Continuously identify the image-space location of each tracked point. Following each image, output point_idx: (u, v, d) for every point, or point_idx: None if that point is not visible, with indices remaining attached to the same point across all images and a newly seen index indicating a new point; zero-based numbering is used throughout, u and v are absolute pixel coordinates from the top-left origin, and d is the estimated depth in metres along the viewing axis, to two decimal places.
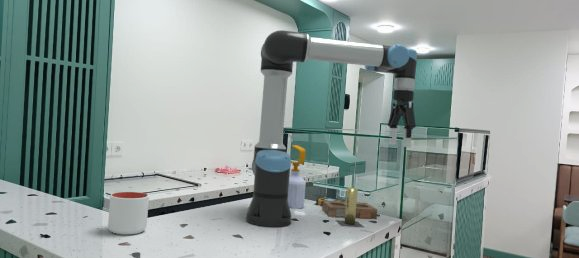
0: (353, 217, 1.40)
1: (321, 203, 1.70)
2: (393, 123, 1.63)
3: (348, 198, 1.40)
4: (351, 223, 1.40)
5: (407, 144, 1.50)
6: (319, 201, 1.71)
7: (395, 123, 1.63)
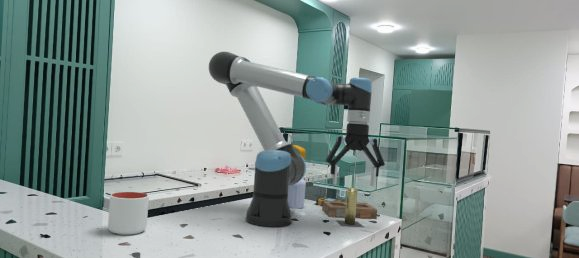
0: (353, 217, 1.40)
1: (321, 203, 1.70)
2: (371, 161, 1.43)
3: (348, 198, 1.40)
4: (351, 223, 1.40)
5: (333, 181, 1.40)
6: (319, 201, 1.71)
7: (372, 161, 1.42)
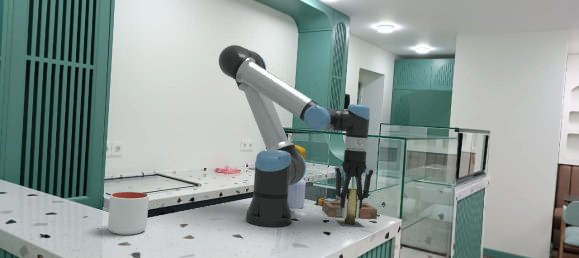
0: (353, 217, 1.40)
1: (321, 203, 1.70)
2: None
3: (348, 198, 1.40)
4: (351, 223, 1.40)
5: (343, 214, 1.41)
6: (319, 201, 1.71)
7: (358, 191, 1.41)
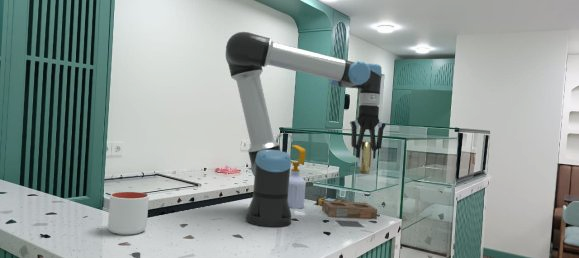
0: (367, 167, 1.55)
1: (322, 203, 1.70)
2: (371, 143, 1.57)
3: (363, 150, 1.55)
4: (366, 172, 1.54)
5: (358, 164, 1.56)
6: (319, 201, 1.71)
7: (371, 143, 1.56)
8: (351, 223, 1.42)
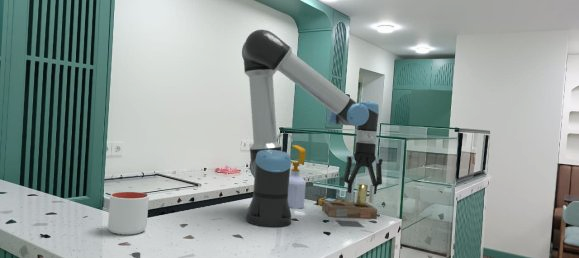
0: None
1: (322, 203, 1.70)
2: (371, 179, 1.58)
3: (359, 193, 1.56)
4: None
5: (350, 198, 1.57)
6: (320, 201, 1.71)
7: (372, 179, 1.58)
8: (351, 223, 1.42)
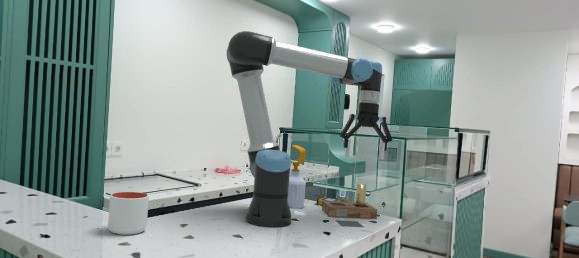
0: None
1: (322, 203, 1.70)
2: (380, 137, 1.59)
3: (358, 193, 1.56)
4: None
5: (346, 154, 1.56)
6: (320, 201, 1.71)
7: (381, 137, 1.58)
8: (351, 223, 1.42)
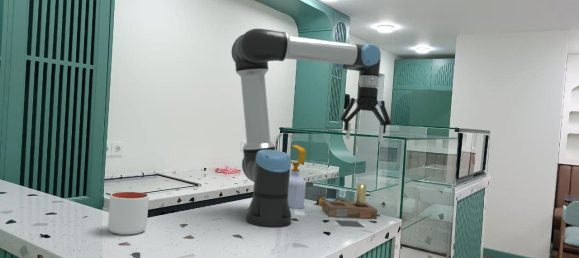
0: None
1: (322, 203, 1.70)
2: (379, 120, 1.66)
3: (358, 193, 1.56)
4: None
5: (346, 136, 1.63)
6: (320, 201, 1.71)
7: (380, 120, 1.65)
8: (351, 223, 1.42)
